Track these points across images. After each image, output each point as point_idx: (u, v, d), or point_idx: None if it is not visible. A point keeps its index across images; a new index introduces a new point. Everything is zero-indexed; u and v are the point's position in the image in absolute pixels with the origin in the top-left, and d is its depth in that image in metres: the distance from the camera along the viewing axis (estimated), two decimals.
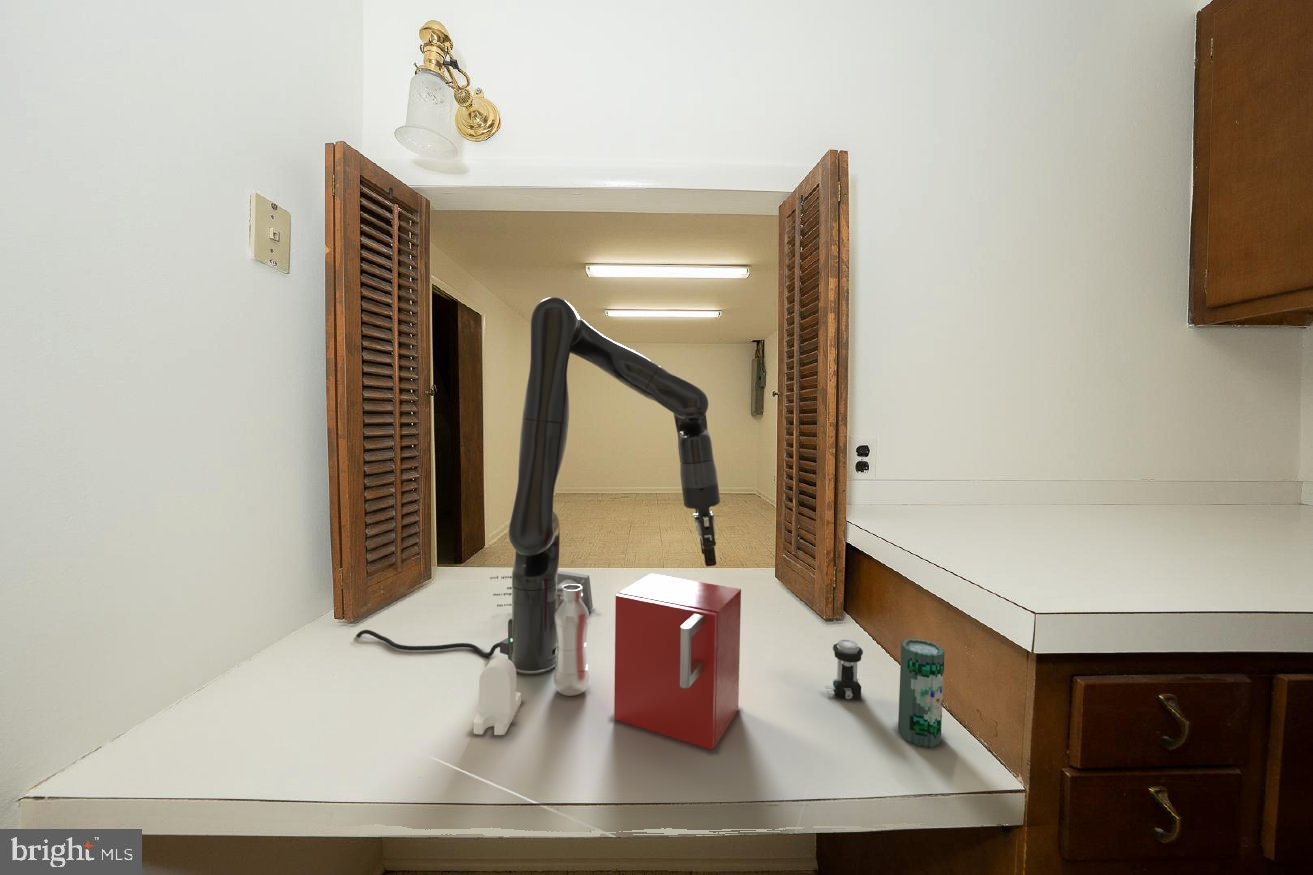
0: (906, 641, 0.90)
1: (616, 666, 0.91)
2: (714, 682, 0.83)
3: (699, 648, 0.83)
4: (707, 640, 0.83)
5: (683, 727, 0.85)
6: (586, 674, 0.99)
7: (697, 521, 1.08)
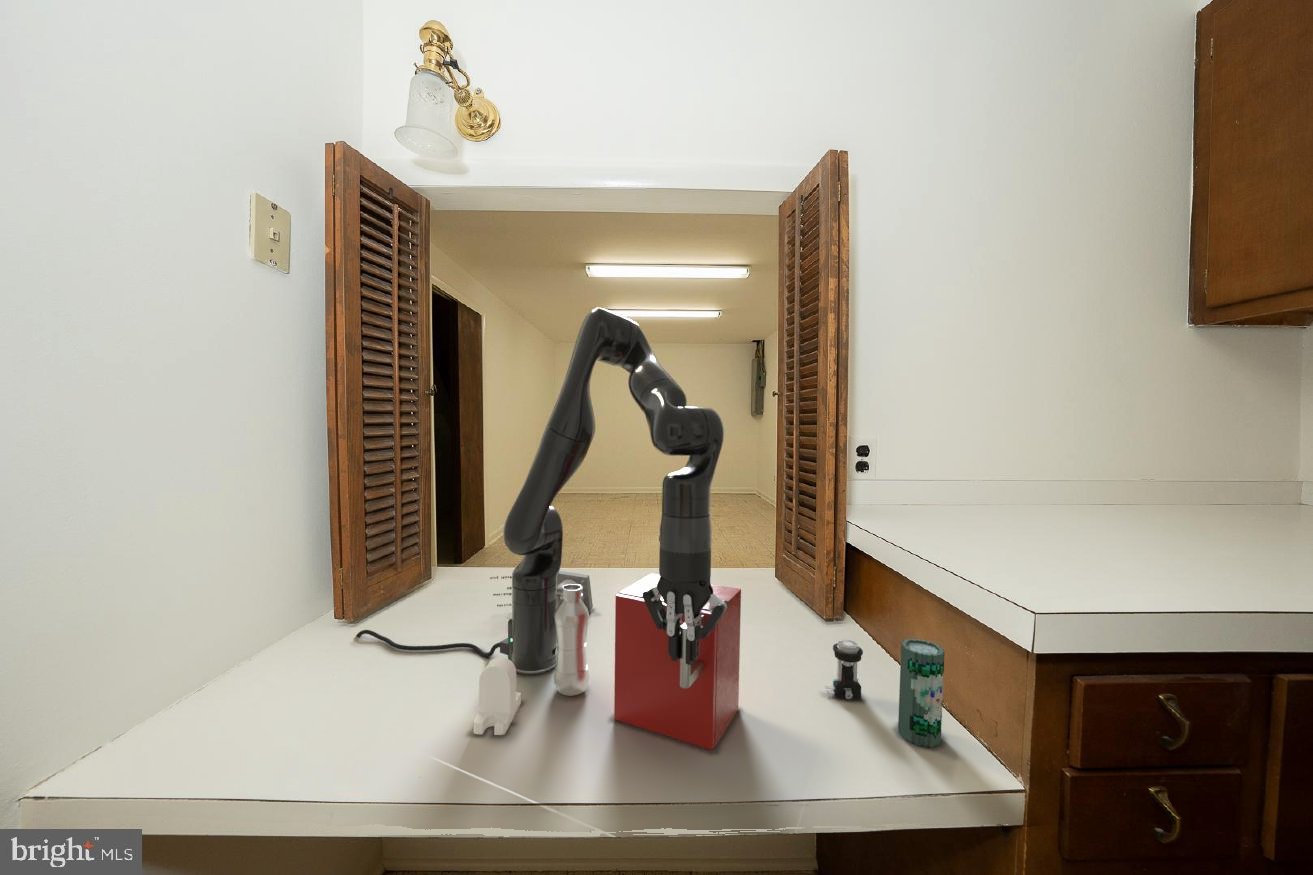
0: (906, 641, 0.90)
1: (616, 666, 0.91)
2: (714, 682, 0.83)
3: (699, 648, 0.83)
4: (707, 640, 0.83)
5: (683, 727, 0.85)
6: (586, 674, 0.99)
7: None
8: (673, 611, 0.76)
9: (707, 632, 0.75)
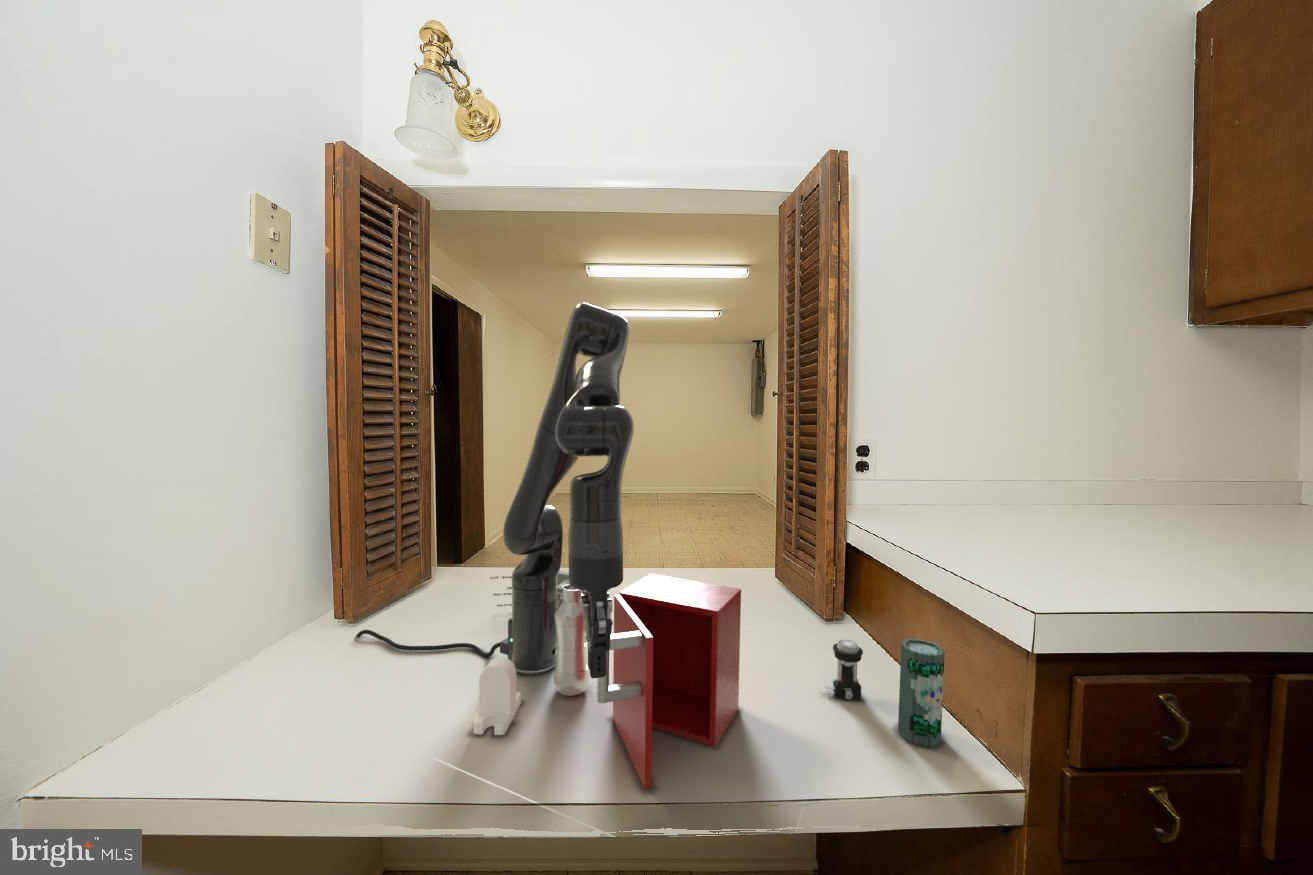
0: (906, 641, 0.90)
1: (613, 665, 0.91)
2: (648, 713, 0.74)
3: (640, 670, 0.76)
4: (643, 664, 0.75)
5: (634, 751, 0.79)
6: (586, 674, 0.99)
7: None
8: (583, 616, 0.74)
9: (591, 647, 0.69)
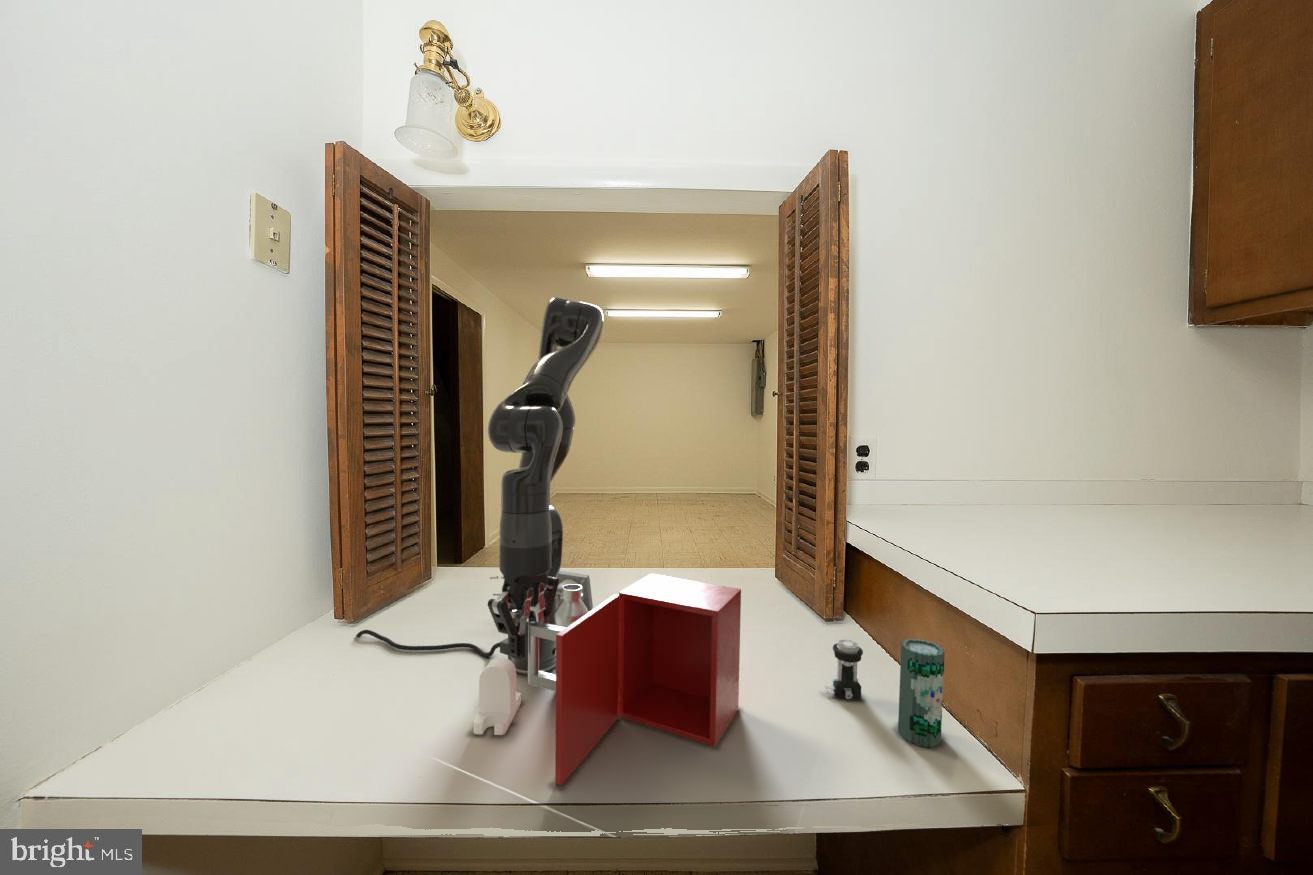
0: (906, 641, 0.90)
1: None
2: (557, 710, 0.74)
3: None
4: None
5: None
6: None
7: None
8: None
9: (497, 626, 0.76)
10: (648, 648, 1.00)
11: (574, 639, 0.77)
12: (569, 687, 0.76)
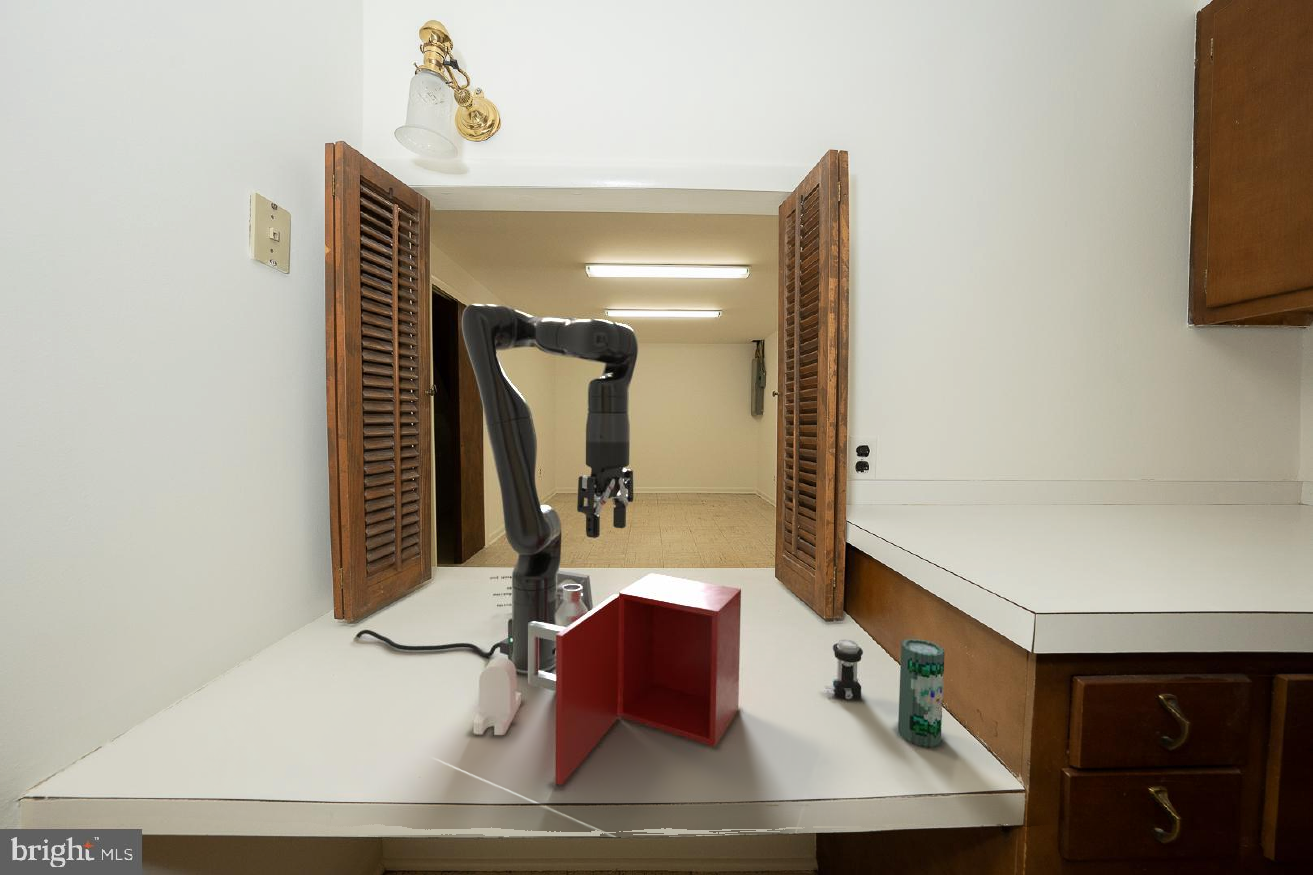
0: (906, 641, 0.90)
1: None
2: (557, 710, 0.74)
3: None
4: None
5: None
6: None
7: None
8: None
9: None
10: (648, 648, 1.00)
11: (574, 639, 0.77)
12: (569, 687, 0.76)
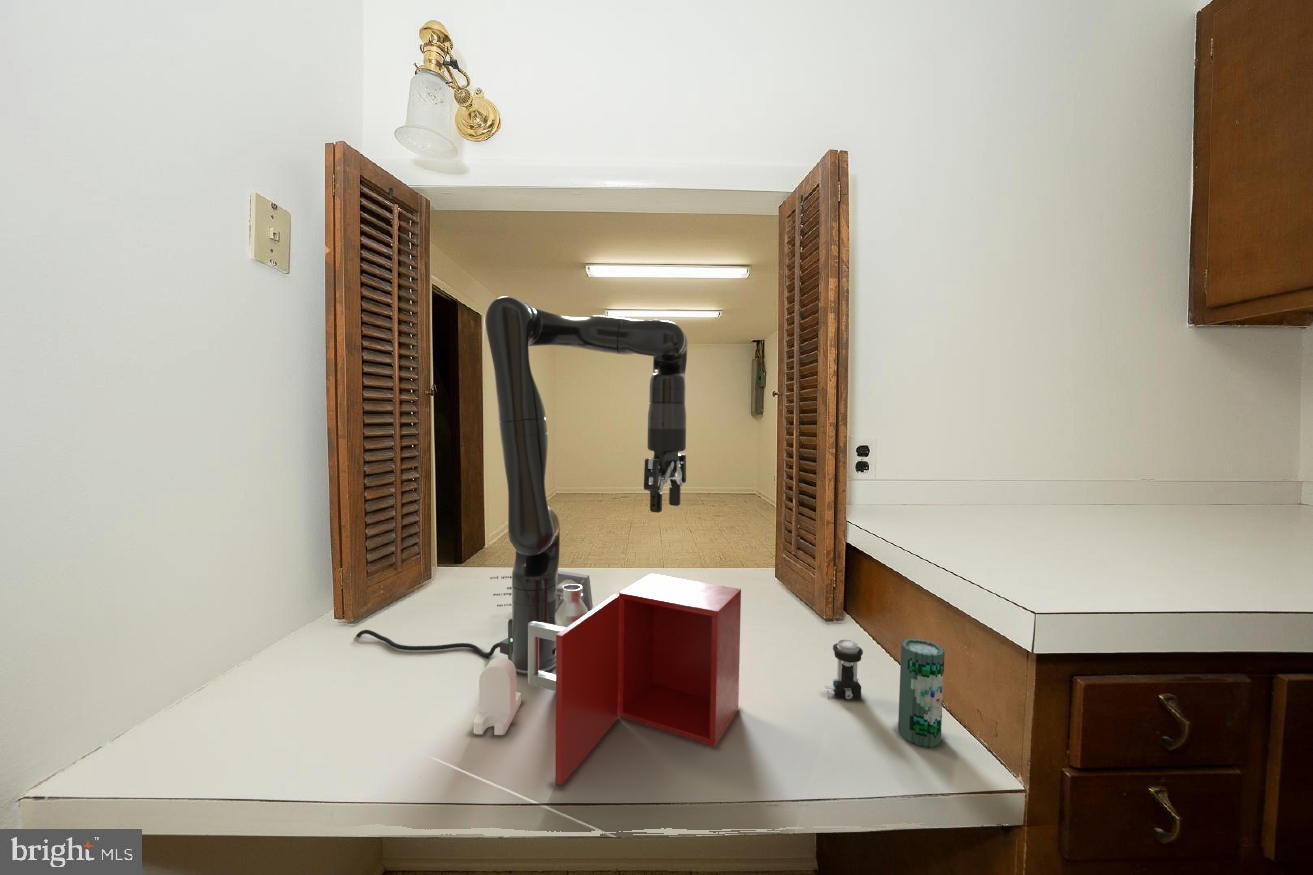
0: (906, 641, 0.90)
1: None
2: (557, 710, 0.74)
3: None
4: None
5: None
6: None
7: None
8: None
9: None
10: (648, 648, 1.00)
11: (574, 639, 0.77)
12: (569, 687, 0.76)
